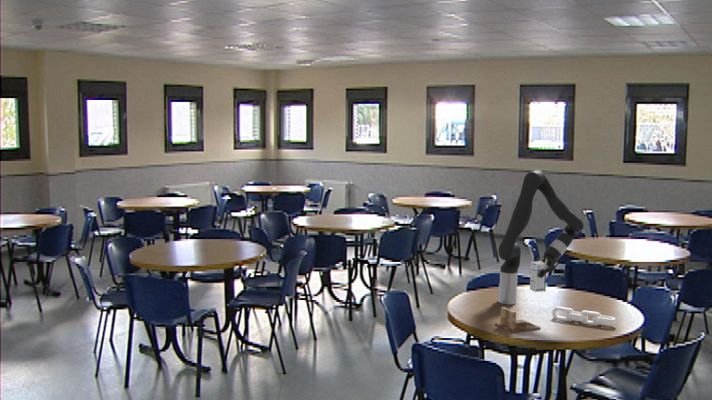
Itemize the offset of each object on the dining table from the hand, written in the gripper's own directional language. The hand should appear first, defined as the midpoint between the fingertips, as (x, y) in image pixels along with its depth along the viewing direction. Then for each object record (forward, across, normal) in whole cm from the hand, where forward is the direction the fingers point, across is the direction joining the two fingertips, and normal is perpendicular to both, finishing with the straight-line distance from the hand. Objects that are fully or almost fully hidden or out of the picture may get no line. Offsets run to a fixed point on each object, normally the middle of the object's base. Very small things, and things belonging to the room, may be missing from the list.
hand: (535, 275), depth 345 cm
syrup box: (+5, 0, +7) cm, 8 cm away
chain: (+2, +14, +29) cm, 33 cm away
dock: (+27, +9, +4) cm, 29 cm away
